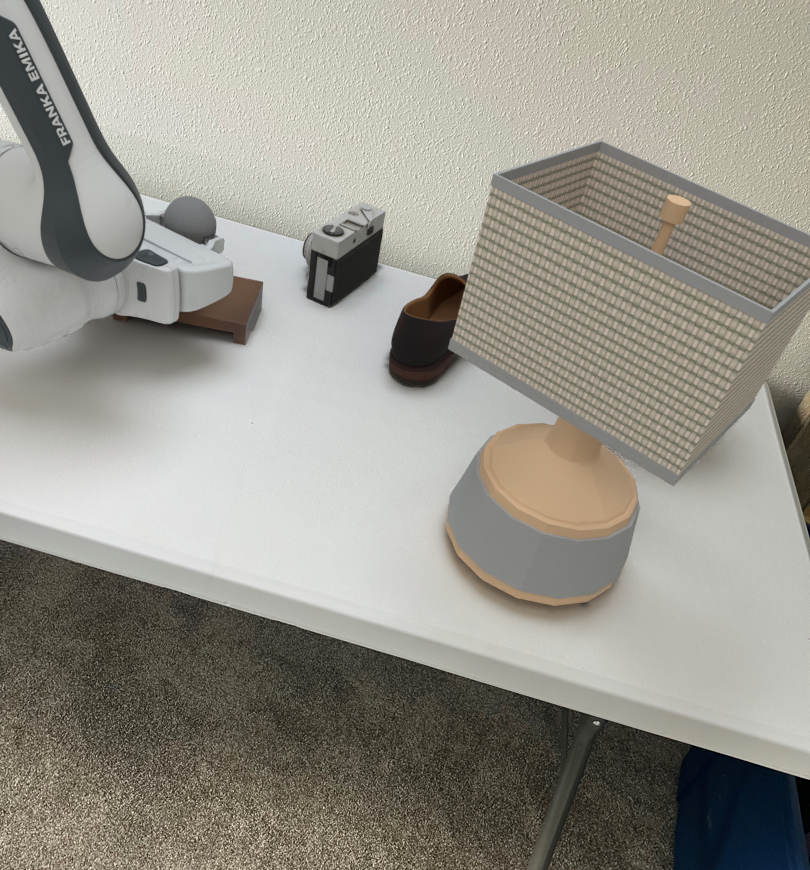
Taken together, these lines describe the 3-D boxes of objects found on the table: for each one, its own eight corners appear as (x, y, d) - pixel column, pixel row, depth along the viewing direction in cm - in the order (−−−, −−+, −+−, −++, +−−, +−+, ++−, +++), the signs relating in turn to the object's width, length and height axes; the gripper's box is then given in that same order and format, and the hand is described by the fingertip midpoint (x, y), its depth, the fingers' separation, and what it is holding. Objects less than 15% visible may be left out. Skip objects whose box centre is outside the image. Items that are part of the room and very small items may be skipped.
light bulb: (200, 297, 94) (200, 215, 87) (155, 281, 94) (151, 198, 87) (224, 277, 98) (226, 197, 91) (181, 262, 99) (179, 182, 92)
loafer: (510, 316, 116) (529, 253, 109) (434, 405, 97) (452, 335, 90) (452, 292, 118) (468, 229, 111) (367, 375, 98) (379, 305, 92)
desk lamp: (393, 531, 80) (484, 163, 54) (496, 457, 92) (612, 125, 66) (568, 661, 72) (773, 306, 46) (657, 562, 84) (859, 234, 58)
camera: (331, 254, 119) (339, 188, 112) (378, 273, 117) (389, 208, 110) (281, 287, 109) (286, 217, 102) (332, 309, 108) (341, 240, 101)
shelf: (114, 327, 95) (111, 298, 93) (140, 285, 103) (139, 256, 100) (244, 352, 97) (246, 324, 94) (261, 308, 105) (263, 281, 102)
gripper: (40, 257, 88) (130, 223, 97) (181, 331, 83) (262, 288, 92) (31, 201, 84) (127, 171, 93) (180, 276, 79) (265, 237, 88)
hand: (195, 230), depth 93 cm, fingers closed on light bulb, 6 cm apart
